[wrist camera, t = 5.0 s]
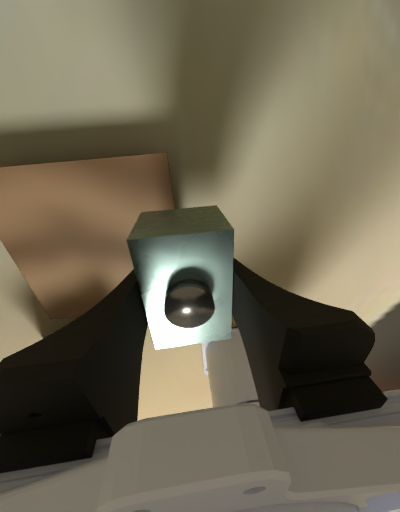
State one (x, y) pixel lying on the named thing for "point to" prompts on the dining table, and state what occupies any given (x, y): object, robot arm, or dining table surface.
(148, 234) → the block
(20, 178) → the stand
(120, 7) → the dining table surface
